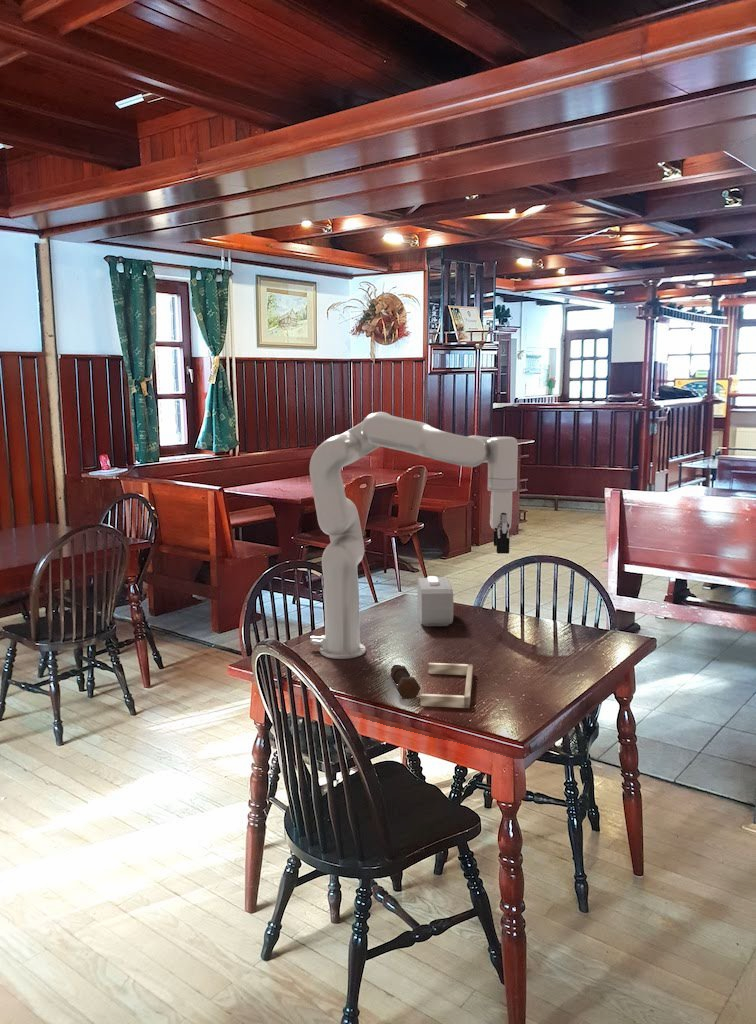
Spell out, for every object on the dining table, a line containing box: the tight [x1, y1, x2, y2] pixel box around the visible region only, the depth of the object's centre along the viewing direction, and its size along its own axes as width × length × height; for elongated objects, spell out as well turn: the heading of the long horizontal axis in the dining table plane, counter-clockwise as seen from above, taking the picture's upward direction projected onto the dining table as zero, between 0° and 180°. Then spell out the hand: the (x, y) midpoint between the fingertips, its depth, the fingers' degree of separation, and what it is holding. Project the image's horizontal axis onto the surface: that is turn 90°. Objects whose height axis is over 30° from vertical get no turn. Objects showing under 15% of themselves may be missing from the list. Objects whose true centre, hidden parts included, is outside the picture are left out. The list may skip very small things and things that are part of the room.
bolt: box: [389, 664, 422, 700], centre depth 200 cm, size 6×5×15 cm
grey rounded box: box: [416, 575, 454, 627], centre depth 254 cm, size 21×10×13 cm, turn 1°
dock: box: [420, 662, 474, 709], centre depth 198 cm, size 11×22×2 cm, turn 172°
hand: (501, 549), depth 214 cm, fingers open, 9 cm apart
